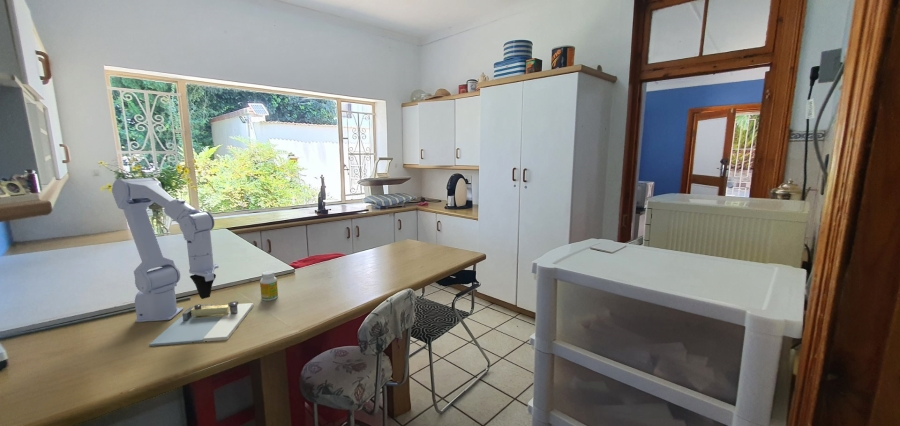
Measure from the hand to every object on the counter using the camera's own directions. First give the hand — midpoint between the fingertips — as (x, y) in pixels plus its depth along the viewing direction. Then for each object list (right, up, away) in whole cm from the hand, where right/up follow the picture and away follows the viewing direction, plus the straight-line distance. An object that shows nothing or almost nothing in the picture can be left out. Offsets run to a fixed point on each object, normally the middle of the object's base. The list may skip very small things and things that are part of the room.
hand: (205, 297), depth 103 cm
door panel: (-2, -9, +3) cm, 10 cm away
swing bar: (-3, -7, +7) cm, 10 cm away
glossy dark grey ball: (+3, -8, +9) cm, 12 cm away
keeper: (-7, -8, +7) cm, 13 cm away
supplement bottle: (+8, -6, +23) cm, 24 cm away
